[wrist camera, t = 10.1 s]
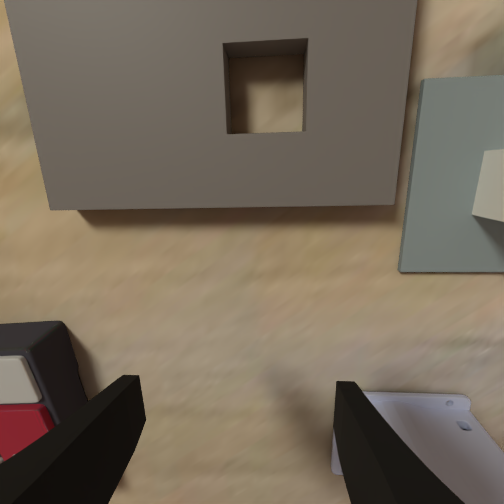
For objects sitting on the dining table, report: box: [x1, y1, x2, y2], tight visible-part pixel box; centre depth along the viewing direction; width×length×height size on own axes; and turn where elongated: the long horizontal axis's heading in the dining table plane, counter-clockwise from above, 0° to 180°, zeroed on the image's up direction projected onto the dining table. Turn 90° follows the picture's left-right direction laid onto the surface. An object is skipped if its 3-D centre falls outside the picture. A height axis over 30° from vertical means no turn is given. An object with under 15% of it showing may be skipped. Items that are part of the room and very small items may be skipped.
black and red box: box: [0, 321, 88, 464], centre depth 23 cm, size 11×4×15 cm
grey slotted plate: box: [4, 0, 417, 210], centre depth 16 cm, size 20×12×2 cm, turn 92°
